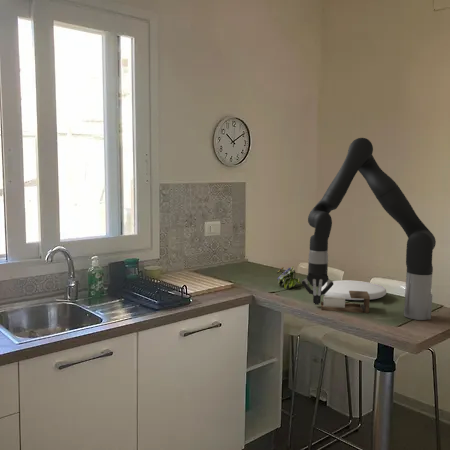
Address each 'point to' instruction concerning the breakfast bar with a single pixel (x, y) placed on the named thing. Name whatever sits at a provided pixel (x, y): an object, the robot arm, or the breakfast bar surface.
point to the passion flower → (288, 274)
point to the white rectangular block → (334, 301)
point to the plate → (354, 289)
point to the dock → (353, 306)
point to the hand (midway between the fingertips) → (316, 304)
